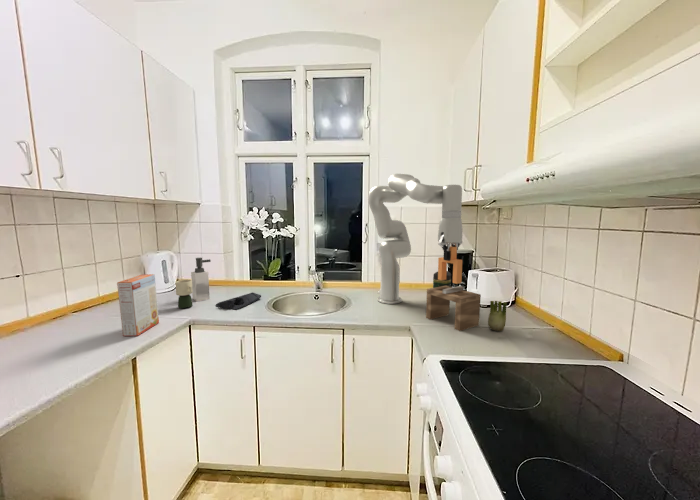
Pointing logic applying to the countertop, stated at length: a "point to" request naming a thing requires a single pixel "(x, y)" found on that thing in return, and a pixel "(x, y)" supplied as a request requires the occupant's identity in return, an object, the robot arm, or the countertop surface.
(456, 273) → the orange stepped arch block
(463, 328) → the small wooden table
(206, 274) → the soap dispenser
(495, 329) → the fennel bulb
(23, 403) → the countertop surface
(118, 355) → the countertop surface
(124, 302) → the cracker box
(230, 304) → the dark slate chunk
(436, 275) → the coffee jar
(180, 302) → the character mug
